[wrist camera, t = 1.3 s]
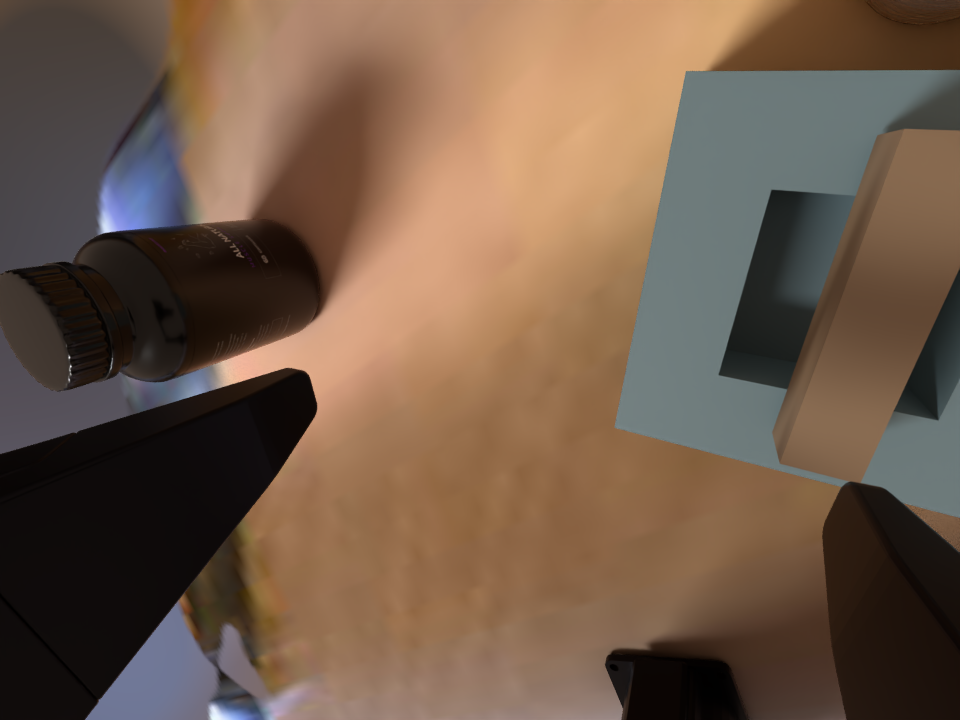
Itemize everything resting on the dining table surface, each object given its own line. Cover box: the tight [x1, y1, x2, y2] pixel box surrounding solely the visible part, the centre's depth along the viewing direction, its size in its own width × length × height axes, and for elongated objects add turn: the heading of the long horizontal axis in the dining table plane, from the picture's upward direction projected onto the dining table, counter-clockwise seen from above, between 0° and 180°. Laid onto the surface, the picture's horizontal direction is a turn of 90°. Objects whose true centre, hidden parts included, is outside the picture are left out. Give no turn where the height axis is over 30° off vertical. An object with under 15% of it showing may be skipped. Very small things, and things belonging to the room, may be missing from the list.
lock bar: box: [772, 129, 960, 483], centre depth 13 cm, size 9×2×2 cm, turn 176°
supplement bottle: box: [0, 219, 320, 392], centre depth 23 cm, size 7×7×12 cm
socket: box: [615, 70, 960, 518], centre depth 14 cm, size 12×18×4 cm, turn 86°
